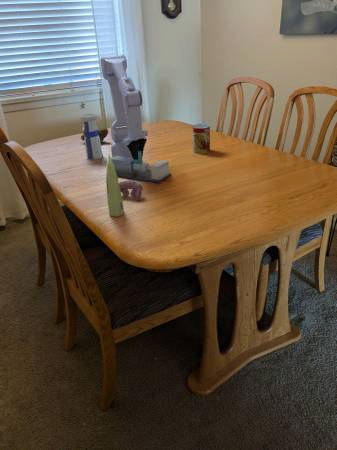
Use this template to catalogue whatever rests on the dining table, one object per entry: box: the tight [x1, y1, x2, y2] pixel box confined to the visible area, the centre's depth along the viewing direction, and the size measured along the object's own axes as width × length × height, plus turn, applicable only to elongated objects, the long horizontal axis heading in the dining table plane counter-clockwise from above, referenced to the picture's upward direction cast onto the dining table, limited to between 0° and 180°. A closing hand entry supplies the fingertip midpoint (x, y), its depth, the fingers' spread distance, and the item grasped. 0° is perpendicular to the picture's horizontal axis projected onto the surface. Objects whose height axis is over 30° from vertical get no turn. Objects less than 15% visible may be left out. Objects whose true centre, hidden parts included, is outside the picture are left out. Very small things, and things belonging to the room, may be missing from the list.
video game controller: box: [119, 180, 144, 202], centre depth 135 cm, size 10×5×7 cm, turn 72°
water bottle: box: [79, 101, 104, 160], centre depth 173 cm, size 8×9×25 cm
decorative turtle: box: [80, 127, 109, 144], centre depth 199 cm, size 10×15×8 cm, turn 89°
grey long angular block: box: [111, 156, 172, 185], centre depth 153 cm, size 25×10×6 cm, turn 60°
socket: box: [150, 160, 170, 180], centre depth 148 cm, size 4×7×5 cm, turn 150°
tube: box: [105, 154, 125, 217], centre depth 120 cm, size 6×5×20 cm
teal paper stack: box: [131, 150, 150, 171], centre depth 153 cm, size 16×3×8 cm, turn 60°
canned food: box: [192, 123, 211, 155], centre depth 175 cm, size 8×8×12 cm
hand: (137, 158), depth 151 cm, fingers closed on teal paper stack, 3 cm apart
